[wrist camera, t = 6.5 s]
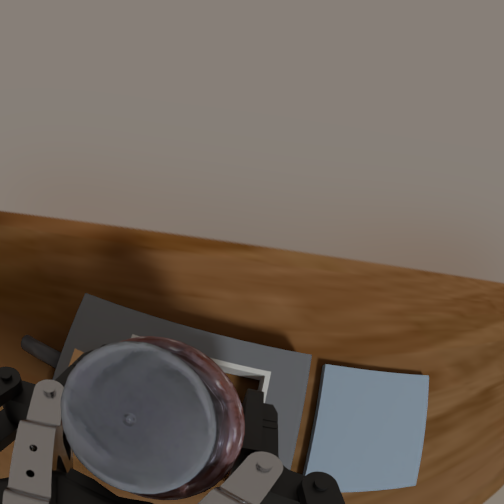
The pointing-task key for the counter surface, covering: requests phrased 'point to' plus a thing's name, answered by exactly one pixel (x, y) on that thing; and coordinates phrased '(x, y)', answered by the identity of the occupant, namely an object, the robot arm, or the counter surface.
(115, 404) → the supplement bottle
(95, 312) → the grey c-shaped bracket
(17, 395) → the robot arm
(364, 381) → the coaster
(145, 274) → the counter surface
